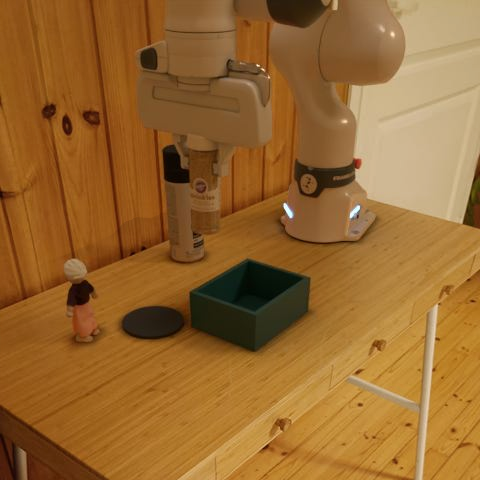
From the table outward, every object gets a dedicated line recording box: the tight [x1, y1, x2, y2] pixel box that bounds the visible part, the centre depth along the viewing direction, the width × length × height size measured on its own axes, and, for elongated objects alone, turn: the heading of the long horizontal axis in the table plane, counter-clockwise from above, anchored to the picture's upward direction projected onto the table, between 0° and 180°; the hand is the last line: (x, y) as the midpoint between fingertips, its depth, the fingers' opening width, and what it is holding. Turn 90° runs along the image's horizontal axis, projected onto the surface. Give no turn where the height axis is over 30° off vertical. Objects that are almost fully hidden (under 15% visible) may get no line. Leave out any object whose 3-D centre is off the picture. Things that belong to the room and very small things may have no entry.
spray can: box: [161, 143, 205, 263], centre depth 113 cm, size 7×7×20 cm
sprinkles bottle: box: [187, 134, 222, 236], centre depth 85 cm, size 5×5×14 cm
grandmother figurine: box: [63, 258, 101, 343], centre depth 91 cm, size 8×4×13 cm, turn 171°
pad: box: [121, 305, 185, 340], centre depth 99 cm, size 10×10×1 cm
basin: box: [188, 257, 312, 352], centre depth 98 cm, size 16×13×6 cm
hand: (204, 172), depth 84 cm, fingers closed on sprinkles bottle, 4 cm apart
